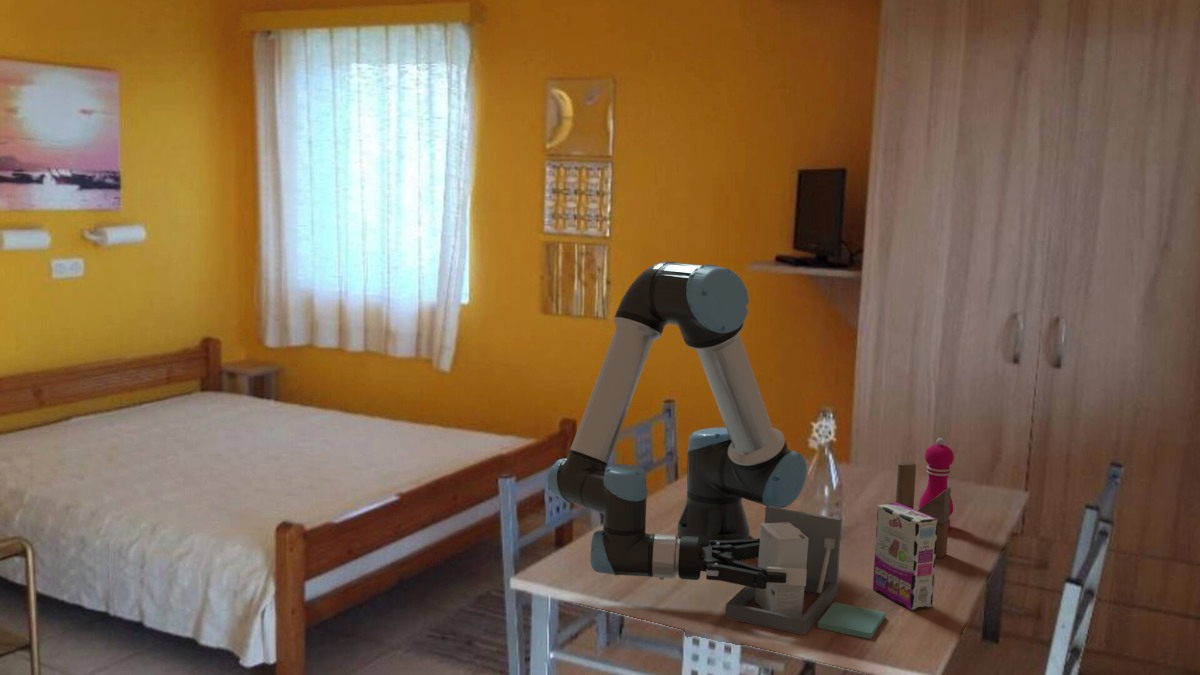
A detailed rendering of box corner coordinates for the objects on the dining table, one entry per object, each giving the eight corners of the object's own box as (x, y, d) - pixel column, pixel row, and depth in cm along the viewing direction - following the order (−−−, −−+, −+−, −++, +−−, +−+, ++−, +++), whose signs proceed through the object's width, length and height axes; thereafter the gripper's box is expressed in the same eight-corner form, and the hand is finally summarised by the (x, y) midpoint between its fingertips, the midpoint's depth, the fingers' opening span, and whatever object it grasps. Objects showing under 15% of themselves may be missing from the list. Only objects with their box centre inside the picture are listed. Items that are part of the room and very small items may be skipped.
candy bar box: (934, 607, 188) (939, 518, 185) (911, 611, 186) (917, 522, 183) (892, 585, 198) (897, 501, 195) (871, 589, 196) (876, 503, 193)
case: (725, 617, 182) (728, 536, 180) (764, 580, 199) (767, 506, 197) (804, 635, 175) (808, 551, 173) (837, 595, 193) (841, 518, 191)
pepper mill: (916, 529, 231) (921, 439, 228) (919, 519, 237) (924, 432, 234) (950, 533, 228) (956, 443, 225) (953, 523, 235) (959, 436, 232)
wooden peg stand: (940, 559, 212) (946, 472, 210) (889, 547, 219) (894, 463, 216) (947, 554, 215) (952, 468, 213) (896, 542, 222) (901, 459, 219)
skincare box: (754, 602, 189) (757, 522, 186) (785, 599, 190) (788, 520, 188) (773, 621, 181) (777, 537, 178) (805, 618, 182) (809, 535, 180)
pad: (817, 627, 178) (817, 622, 178) (833, 607, 187) (834, 602, 187) (870, 639, 174) (871, 633, 174) (884, 617, 183) (885, 612, 183)
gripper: (682, 554, 199) (800, 562, 196) (673, 603, 176) (807, 612, 173) (683, 516, 198) (802, 523, 195) (674, 559, 175) (809, 568, 172)
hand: (804, 565), depth 184 cm, fingers open, 11 cm apart
